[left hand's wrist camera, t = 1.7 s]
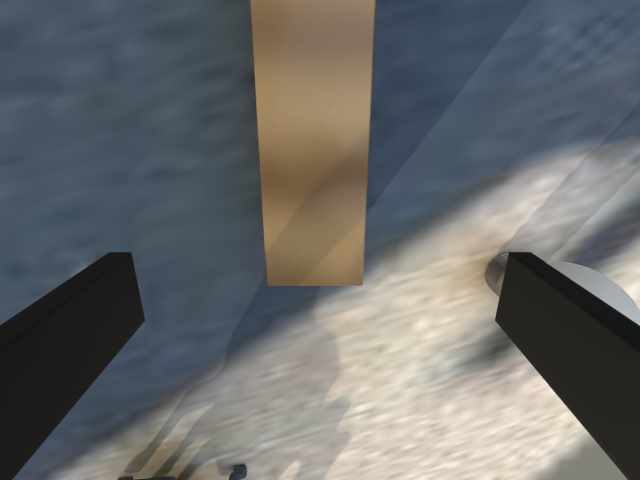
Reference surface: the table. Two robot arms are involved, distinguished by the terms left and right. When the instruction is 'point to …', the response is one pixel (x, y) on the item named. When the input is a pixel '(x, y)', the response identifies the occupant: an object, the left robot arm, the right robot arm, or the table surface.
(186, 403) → the table surface
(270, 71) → the bar
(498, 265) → the light bulb
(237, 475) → the toy
